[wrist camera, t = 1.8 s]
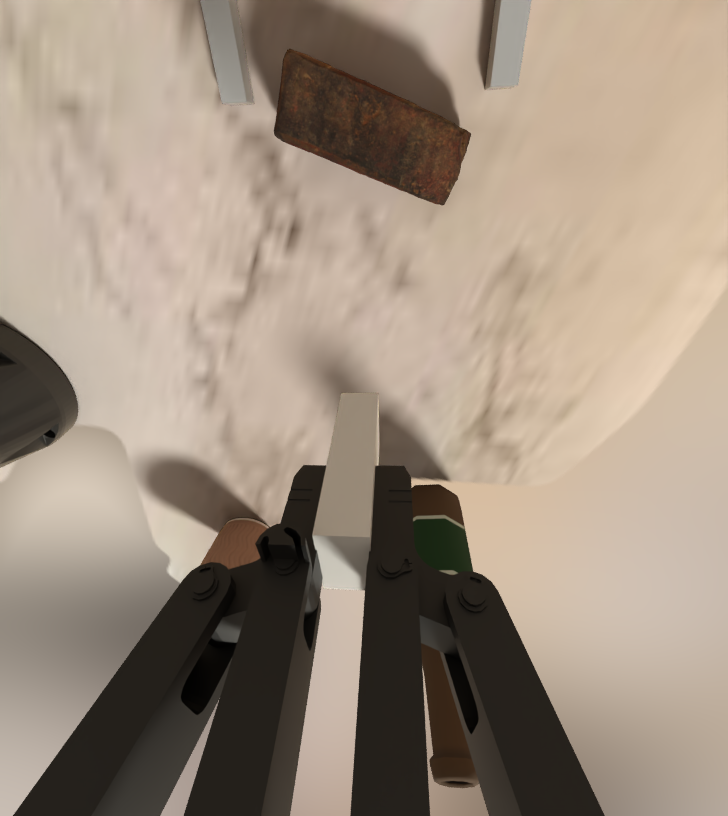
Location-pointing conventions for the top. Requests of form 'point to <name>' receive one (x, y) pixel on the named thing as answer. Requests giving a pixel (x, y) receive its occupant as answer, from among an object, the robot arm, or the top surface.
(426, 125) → the brick
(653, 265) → the top surface
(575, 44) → the top surface
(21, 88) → the top surface
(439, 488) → the beer bottle
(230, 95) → the rails
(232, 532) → the coffee cup
